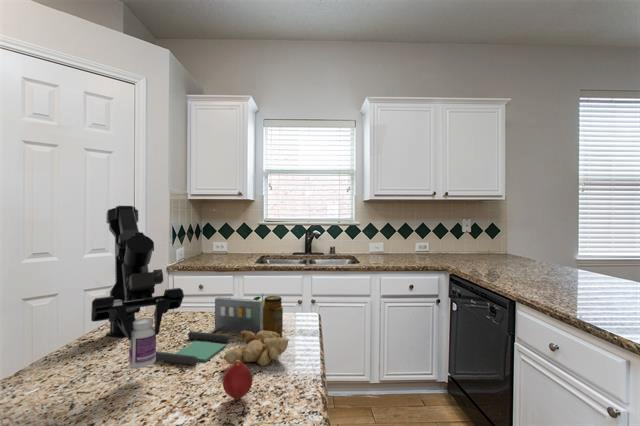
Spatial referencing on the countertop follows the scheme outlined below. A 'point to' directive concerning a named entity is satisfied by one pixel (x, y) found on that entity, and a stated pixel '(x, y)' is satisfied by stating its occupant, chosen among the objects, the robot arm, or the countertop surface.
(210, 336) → the dark grey rod
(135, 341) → the pill bottle
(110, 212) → the robot arm
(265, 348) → the ginger root
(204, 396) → the countertop surface
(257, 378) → the countertop surface
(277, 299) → the condiment
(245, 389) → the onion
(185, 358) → the dark grey rounded rod
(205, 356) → the pad
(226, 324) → the gray printed box
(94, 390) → the countertop surface
